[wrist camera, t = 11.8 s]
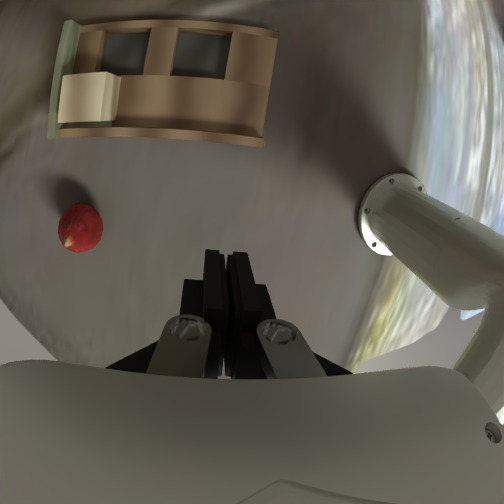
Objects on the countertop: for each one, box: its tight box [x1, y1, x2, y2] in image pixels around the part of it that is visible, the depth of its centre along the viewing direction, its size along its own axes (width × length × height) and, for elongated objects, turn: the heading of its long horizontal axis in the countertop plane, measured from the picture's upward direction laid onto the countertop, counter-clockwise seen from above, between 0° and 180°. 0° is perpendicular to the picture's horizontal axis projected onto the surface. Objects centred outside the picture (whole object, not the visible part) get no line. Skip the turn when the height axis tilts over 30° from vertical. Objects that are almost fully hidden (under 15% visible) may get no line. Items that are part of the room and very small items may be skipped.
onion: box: [58, 203, 103, 253], centre depth 31 cm, size 6×6×8 cm
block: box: [58, 72, 121, 123], centre depth 24 cm, size 5×5×5 cm
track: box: [47, 20, 279, 148], centre depth 26 cm, size 24×14×6 cm, turn 81°
